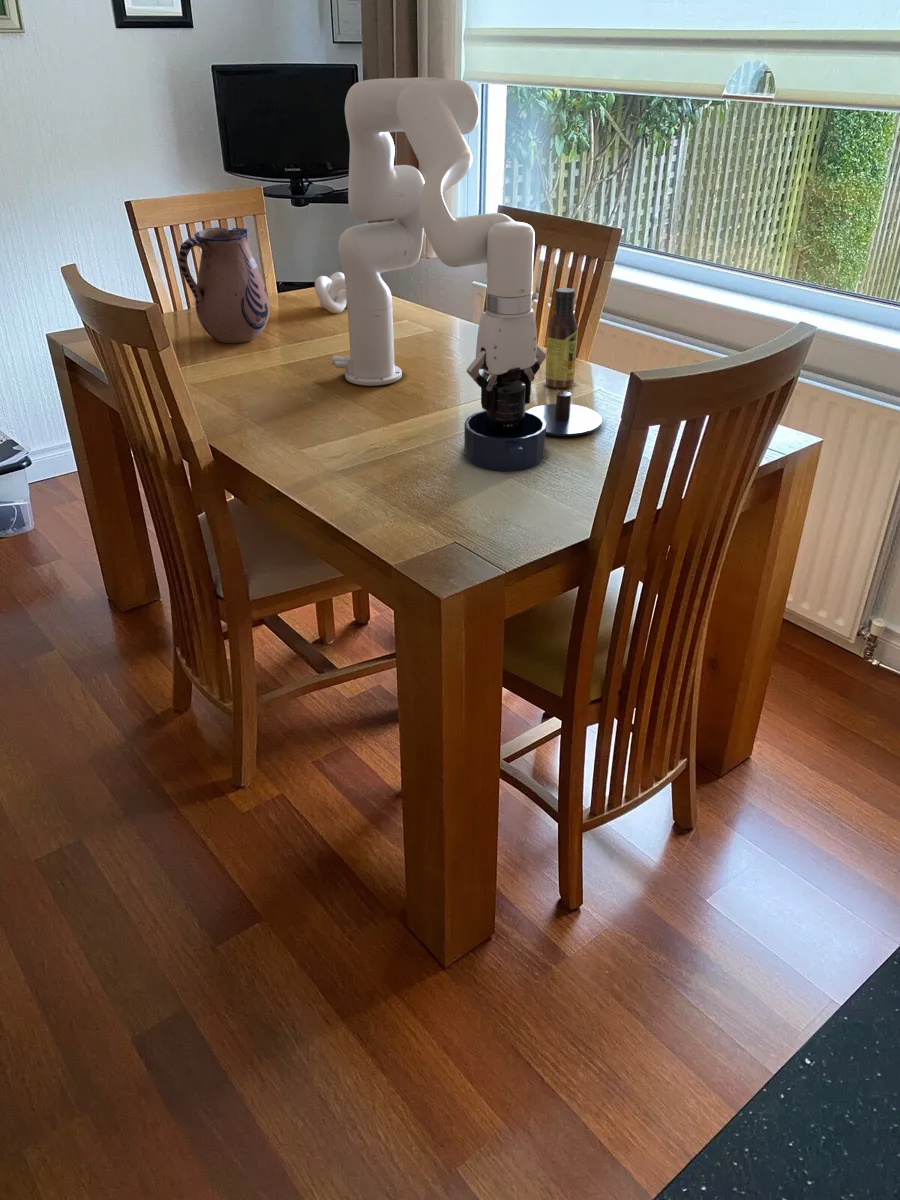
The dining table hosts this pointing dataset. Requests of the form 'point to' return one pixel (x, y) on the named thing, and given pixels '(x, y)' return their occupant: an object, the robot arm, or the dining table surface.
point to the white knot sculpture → (332, 292)
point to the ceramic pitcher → (227, 285)
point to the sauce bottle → (562, 341)
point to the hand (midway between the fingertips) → (505, 405)
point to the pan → (504, 444)
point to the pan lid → (567, 417)
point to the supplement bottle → (508, 405)
